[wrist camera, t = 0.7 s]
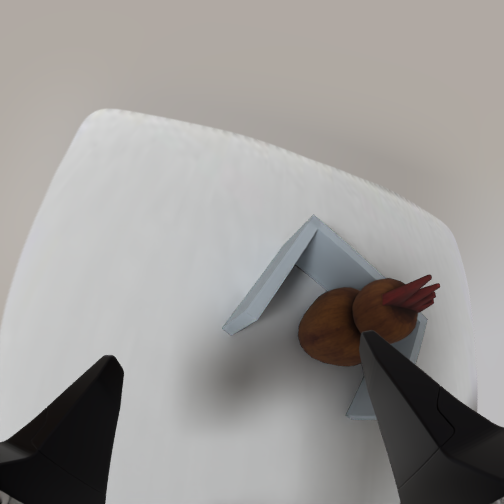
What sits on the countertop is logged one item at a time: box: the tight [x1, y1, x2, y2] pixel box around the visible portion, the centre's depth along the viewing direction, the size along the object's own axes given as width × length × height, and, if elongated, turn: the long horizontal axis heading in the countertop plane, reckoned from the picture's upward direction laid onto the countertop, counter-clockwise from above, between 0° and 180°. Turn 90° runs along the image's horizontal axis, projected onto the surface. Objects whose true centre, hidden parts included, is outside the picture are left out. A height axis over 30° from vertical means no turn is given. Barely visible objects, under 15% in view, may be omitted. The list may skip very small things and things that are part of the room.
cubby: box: [222, 214, 428, 420], centre depth 25 cm, size 11×16×6 cm
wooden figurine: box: [298, 275, 440, 366], centre depth 21 cm, size 7×6×15 cm
